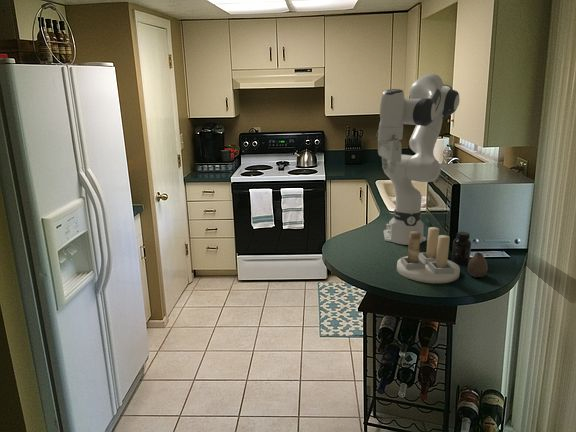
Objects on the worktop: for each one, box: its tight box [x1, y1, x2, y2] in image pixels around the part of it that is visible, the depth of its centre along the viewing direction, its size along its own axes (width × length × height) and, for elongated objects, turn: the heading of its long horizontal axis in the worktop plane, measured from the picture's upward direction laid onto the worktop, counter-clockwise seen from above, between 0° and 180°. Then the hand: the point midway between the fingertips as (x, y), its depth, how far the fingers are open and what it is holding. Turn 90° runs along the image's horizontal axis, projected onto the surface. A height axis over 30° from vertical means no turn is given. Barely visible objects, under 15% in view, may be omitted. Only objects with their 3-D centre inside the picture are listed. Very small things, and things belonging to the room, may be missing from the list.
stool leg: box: [407, 231, 421, 263], centre depth 182 cm, size 4×4×13 cm
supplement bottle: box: [451, 231, 472, 265], centre depth 194 cm, size 7×7×12 cm
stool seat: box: [396, 226, 461, 284], centre depth 183 cm, size 23×23×16 cm
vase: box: [467, 252, 489, 278], centre depth 180 cm, size 7×7×9 cm
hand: (388, 170), depth 184 cm, fingers open, 8 cm apart
